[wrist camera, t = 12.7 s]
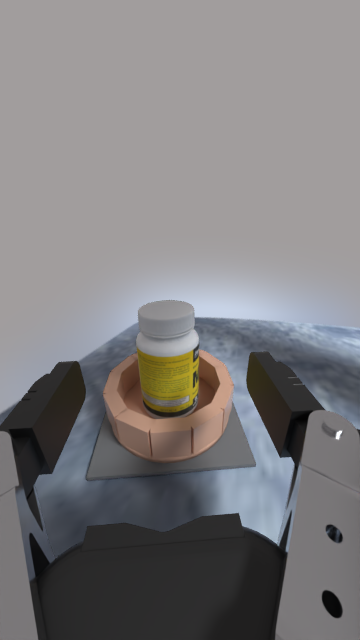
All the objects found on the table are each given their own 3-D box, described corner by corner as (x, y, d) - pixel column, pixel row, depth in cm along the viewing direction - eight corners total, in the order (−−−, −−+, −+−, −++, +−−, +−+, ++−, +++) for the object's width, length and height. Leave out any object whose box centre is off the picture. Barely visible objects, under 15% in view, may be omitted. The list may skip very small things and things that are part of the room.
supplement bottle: (205, 419, 17) (207, 318, 14) (143, 428, 16) (130, 325, 13) (191, 379, 21) (191, 296, 18) (142, 385, 21) (132, 300, 17)
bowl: (214, 367, 24) (216, 343, 23) (245, 456, 15) (251, 425, 14) (122, 372, 24) (118, 348, 22) (96, 469, 14) (87, 437, 13)
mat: (218, 366, 25) (218, 364, 25) (255, 466, 15) (256, 463, 15) (118, 372, 24) (118, 370, 24) (87, 480, 14) (86, 477, 14)
